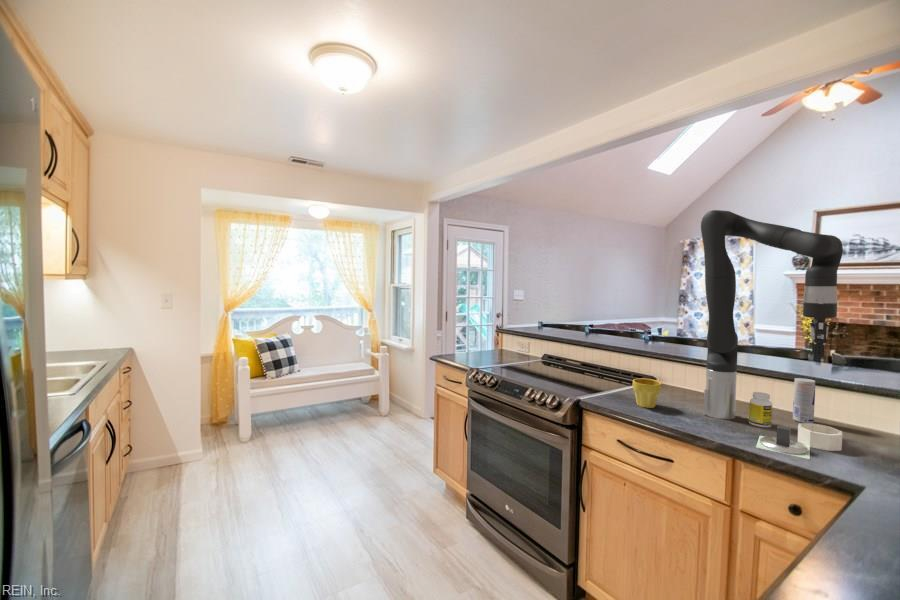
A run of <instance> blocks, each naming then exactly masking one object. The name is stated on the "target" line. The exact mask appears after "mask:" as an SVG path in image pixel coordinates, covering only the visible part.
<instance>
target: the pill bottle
mask: <svg viewBox="0 0 900 600" xmlns="http://www.w3.org/2000/svg"><path fill="white" fill-rule="evenodd" d="M770 399H771V396H770V394H769V393H766V392H761V391H753V392H752V398H751V399H750V400H749V407H748V408H749V413H748V414H749V415H748V424H749V425H752V426H755V427H761V428H771V427H772V420H773V417H772V415H773V414H772V413H773V403H772V401H770Z"/></svg>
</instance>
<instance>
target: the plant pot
mask: <svg viewBox="0 0 900 600" xmlns="http://www.w3.org/2000/svg"><path fill="white" fill-rule="evenodd" d="M632 389H633V392H634V394H635V395H634V396H635V400H636V405H637V406H638V405H639V406H638V407H641V408H645V407H646V409H653V408H655V407H656V404H657V401H658V398H659V394H660V393H661V391H662V382H660V381H659V380H656V379H651V378H642V377H641V378H634V379H633V380H632Z"/></svg>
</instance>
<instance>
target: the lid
mask: <svg viewBox="0 0 900 600" xmlns="http://www.w3.org/2000/svg"><path fill="white" fill-rule="evenodd" d="M776 426H777V427H776V437H775V436H764V437H762V438H760V444H761V445H763V446H764V447H766V448H769V449H771V450H775V451H778V452H782V453H781V454H783V453H787V454H797V455H801V454H806V453H807V452H808V449H807V447H806V446H804V444H803V445H802V443H800V442H797V441H795V440H792V439H791V427H790V426H786V425H780V424H779V425H778V424H777V425H776ZM778 452H777V453H778ZM787 454H786V455H787Z"/></svg>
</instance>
